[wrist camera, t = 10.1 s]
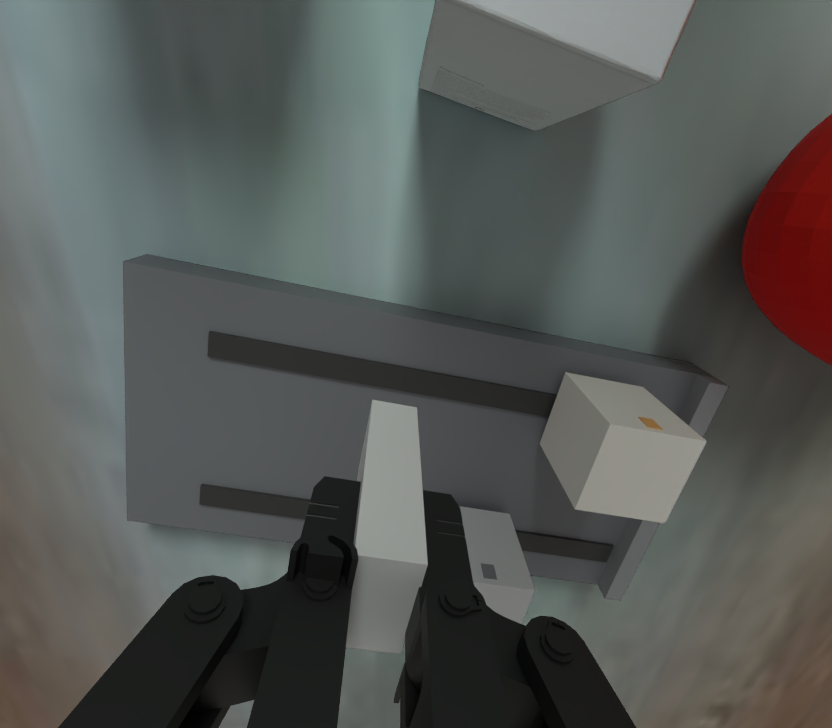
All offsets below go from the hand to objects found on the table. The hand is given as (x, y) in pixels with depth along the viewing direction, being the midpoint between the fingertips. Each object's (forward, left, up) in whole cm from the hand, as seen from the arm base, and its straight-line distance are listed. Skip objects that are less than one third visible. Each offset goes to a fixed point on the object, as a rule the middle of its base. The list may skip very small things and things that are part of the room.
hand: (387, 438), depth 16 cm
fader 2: (+1, +10, -6) cm, 12 cm away
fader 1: (+9, +6, -6) cm, 13 cm away
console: (+5, +2, -9) cm, 10 cm away
